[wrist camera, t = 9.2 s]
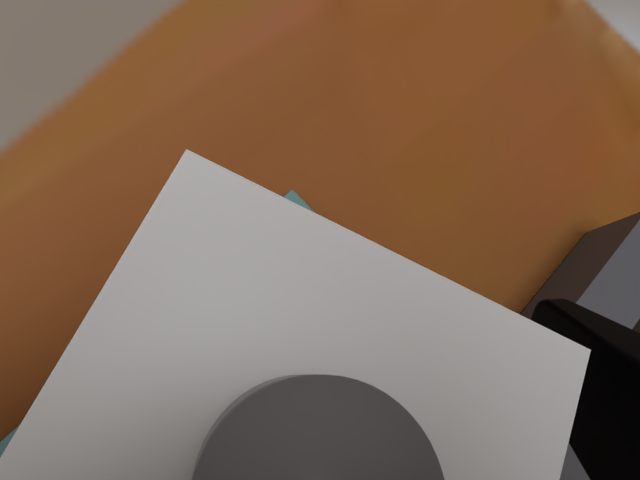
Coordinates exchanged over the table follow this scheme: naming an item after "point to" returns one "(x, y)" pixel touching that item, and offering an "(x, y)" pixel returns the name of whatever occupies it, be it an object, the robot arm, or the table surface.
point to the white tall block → (292, 359)
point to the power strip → (599, 288)
